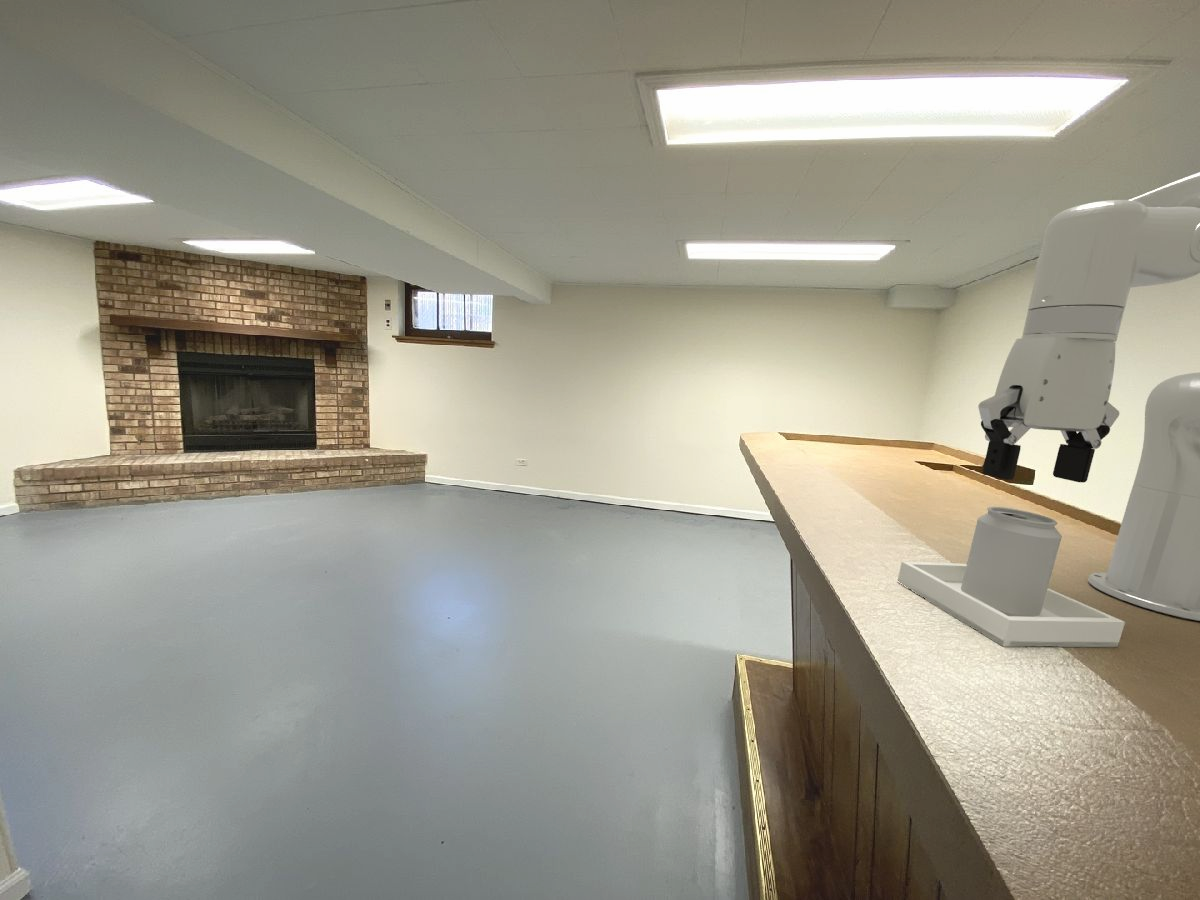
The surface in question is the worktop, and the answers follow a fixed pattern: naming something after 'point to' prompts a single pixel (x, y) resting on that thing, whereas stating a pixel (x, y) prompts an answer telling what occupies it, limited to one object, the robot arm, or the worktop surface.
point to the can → (1011, 560)
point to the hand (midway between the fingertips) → (1033, 478)
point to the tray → (1053, 627)
